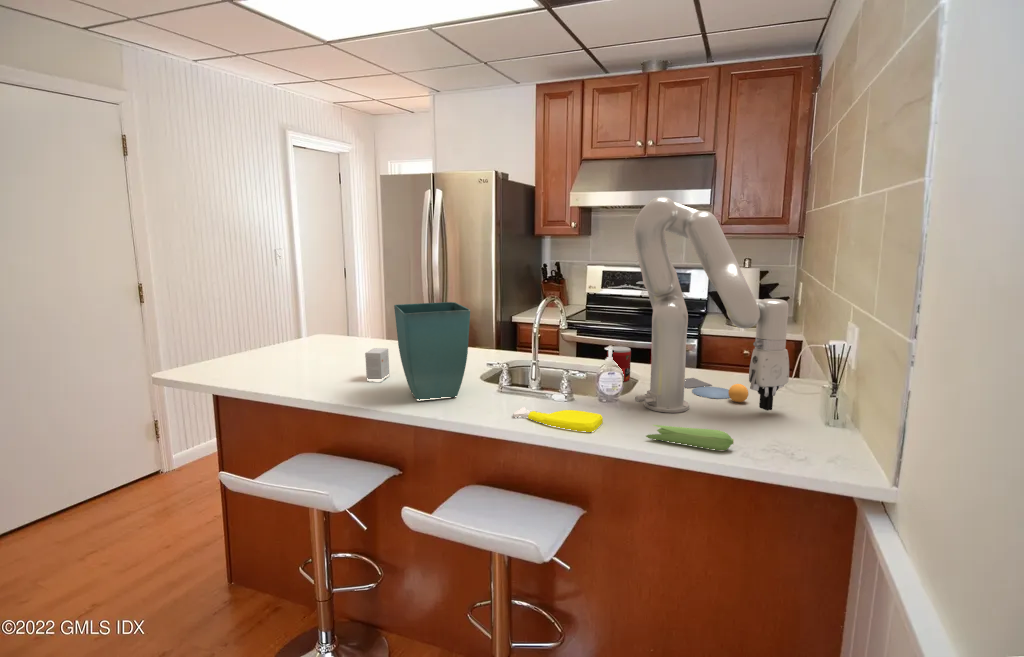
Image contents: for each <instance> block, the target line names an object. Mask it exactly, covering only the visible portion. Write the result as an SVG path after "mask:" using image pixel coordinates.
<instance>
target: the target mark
mask: <svg viewBox="0 0 1024 657" xmlns="http://www.w3.org/2000/svg"><path fill="white" fill-rule="evenodd" d="M691 392H692V394H694V395H695V394H696V396H698V397H701V396H702V398H705V397H707V399H713V398H715V400H721V399H722V400H727V398H728V399H731V398H730V397H729V393H728V392H729V389H727V388H725V387H724V388H723V387H719V386H718V387H717V386H705V387H696V388H692V390H691Z"/></svg>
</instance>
